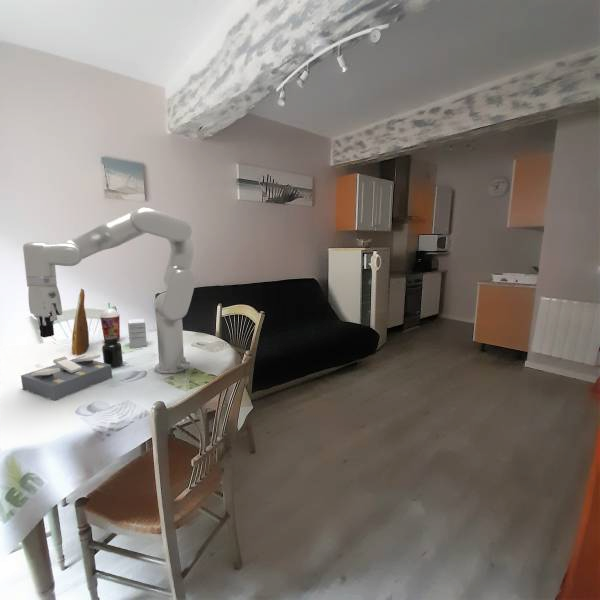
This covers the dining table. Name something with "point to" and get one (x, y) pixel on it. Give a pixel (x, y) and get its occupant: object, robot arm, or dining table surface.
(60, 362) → the rocker
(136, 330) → the supplement box
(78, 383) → the console
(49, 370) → the rocker
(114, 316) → the smoothie
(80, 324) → the pancake mix bag
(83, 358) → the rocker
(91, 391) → the dining table surface
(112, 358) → the supplement bottle
